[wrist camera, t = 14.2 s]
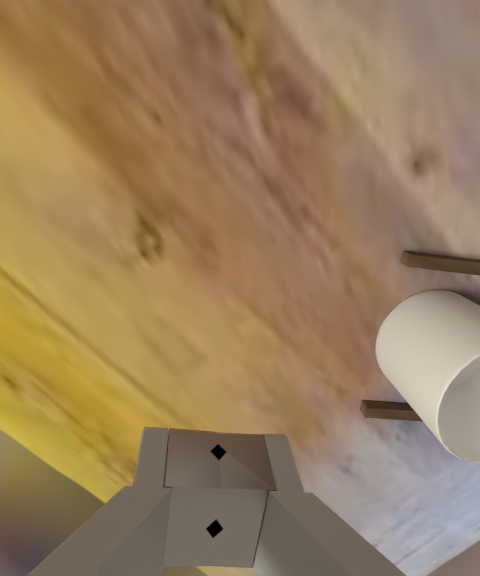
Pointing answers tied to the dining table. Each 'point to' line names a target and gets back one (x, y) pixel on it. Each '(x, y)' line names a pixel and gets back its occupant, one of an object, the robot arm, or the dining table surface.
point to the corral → (426, 262)
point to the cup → (437, 365)
